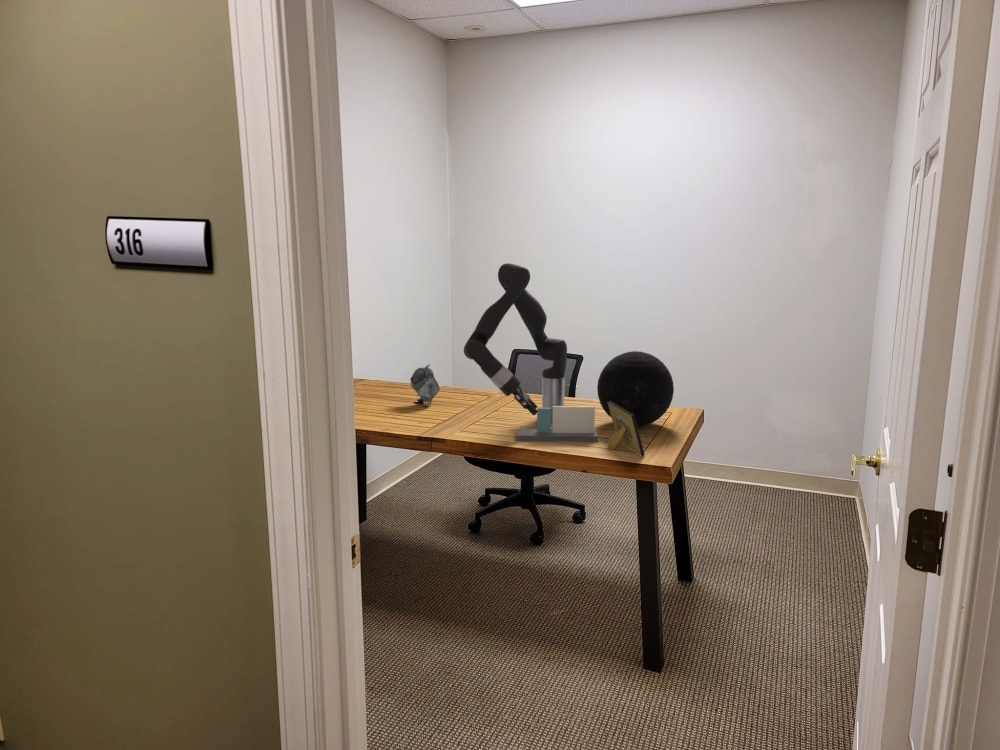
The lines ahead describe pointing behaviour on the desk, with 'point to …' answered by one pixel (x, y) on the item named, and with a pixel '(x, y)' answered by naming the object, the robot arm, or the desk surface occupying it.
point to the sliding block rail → (565, 426)
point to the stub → (543, 419)
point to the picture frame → (624, 429)
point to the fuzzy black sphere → (636, 386)
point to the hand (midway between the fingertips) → (535, 411)
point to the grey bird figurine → (424, 385)
